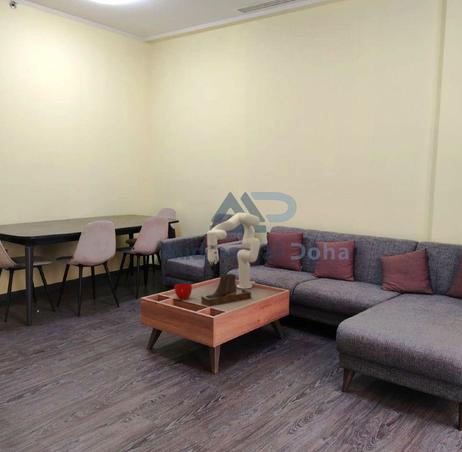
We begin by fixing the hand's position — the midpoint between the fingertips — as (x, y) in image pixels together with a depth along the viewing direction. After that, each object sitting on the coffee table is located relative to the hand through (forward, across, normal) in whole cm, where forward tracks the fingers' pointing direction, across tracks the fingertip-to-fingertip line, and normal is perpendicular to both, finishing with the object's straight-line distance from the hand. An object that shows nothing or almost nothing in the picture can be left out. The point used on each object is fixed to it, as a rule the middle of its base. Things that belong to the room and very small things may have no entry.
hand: (213, 270), depth 350 cm
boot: (+20, -15, +2) cm, 26 cm away
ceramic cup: (+20, +5, +24) cm, 31 cm away
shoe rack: (+20, -17, -1) cm, 27 cm away
